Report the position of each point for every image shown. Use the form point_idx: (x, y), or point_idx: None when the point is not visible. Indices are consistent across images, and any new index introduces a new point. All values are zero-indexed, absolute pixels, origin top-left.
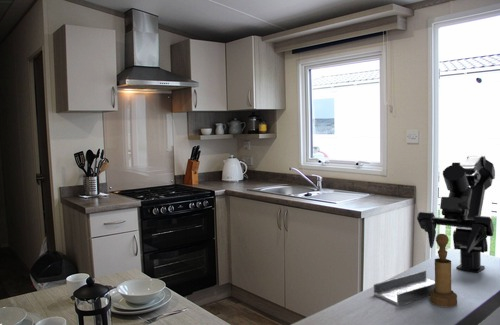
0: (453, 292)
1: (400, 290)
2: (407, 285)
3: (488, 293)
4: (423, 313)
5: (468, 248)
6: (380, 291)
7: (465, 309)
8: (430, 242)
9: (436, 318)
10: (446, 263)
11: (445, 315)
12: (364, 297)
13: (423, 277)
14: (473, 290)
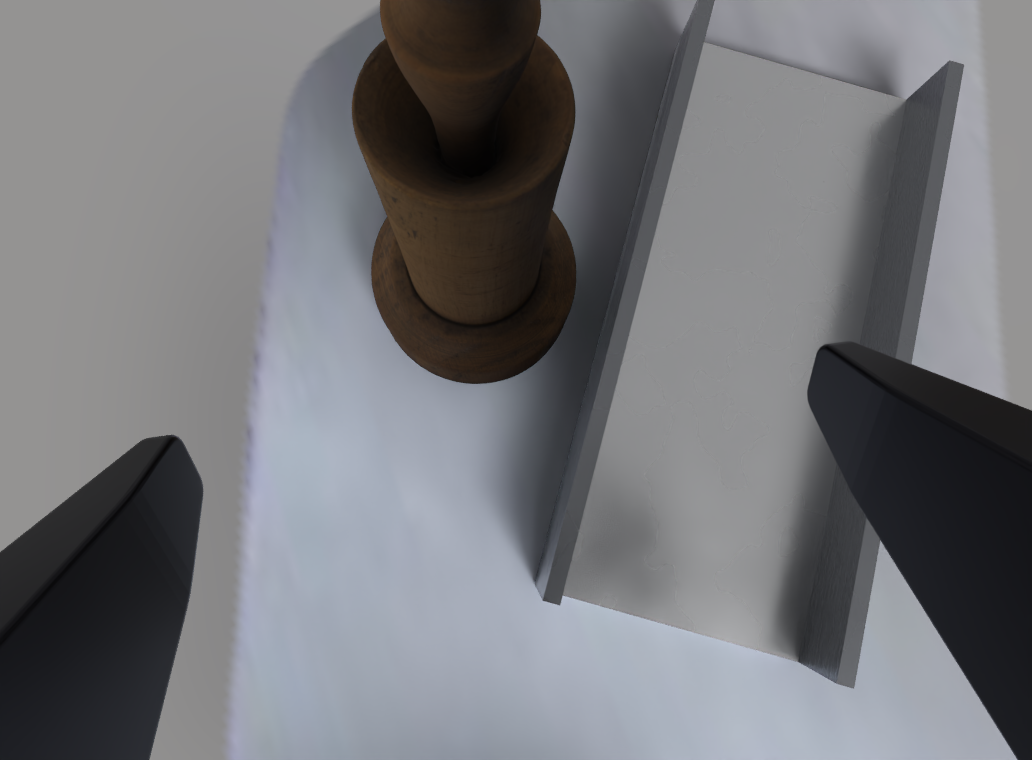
0: (397, 287)
1: (798, 248)
2: None
3: (263, 702)
4: None
5: (123, 465)
6: (892, 141)
7: (306, 265)
8: (890, 365)
9: None
10: (385, 46)
11: None
12: (922, 42)
13: (812, 629)
14: (384, 691)
